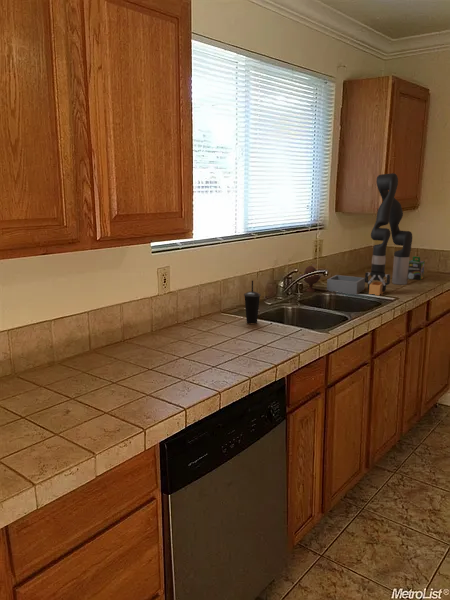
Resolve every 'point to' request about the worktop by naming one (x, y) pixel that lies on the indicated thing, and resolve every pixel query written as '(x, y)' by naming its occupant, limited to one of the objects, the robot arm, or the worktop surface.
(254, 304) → the drinking cup
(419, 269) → the chalk box
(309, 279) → the ice cream bowl
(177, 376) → the worktop surface
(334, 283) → the charcoal crate
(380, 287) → the orange crate
